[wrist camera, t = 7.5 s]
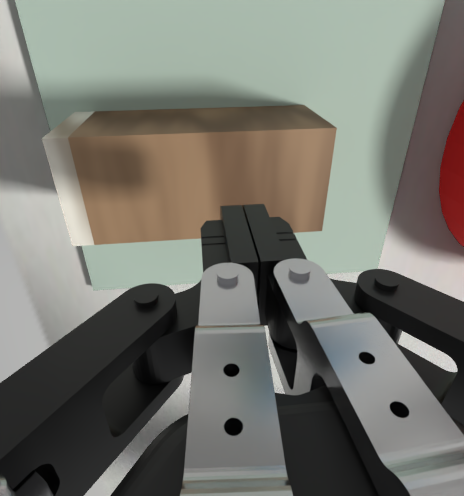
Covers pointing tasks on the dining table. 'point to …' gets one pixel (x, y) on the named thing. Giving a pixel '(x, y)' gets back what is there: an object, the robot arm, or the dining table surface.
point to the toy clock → (454, 178)
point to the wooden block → (187, 169)
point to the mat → (247, 97)
